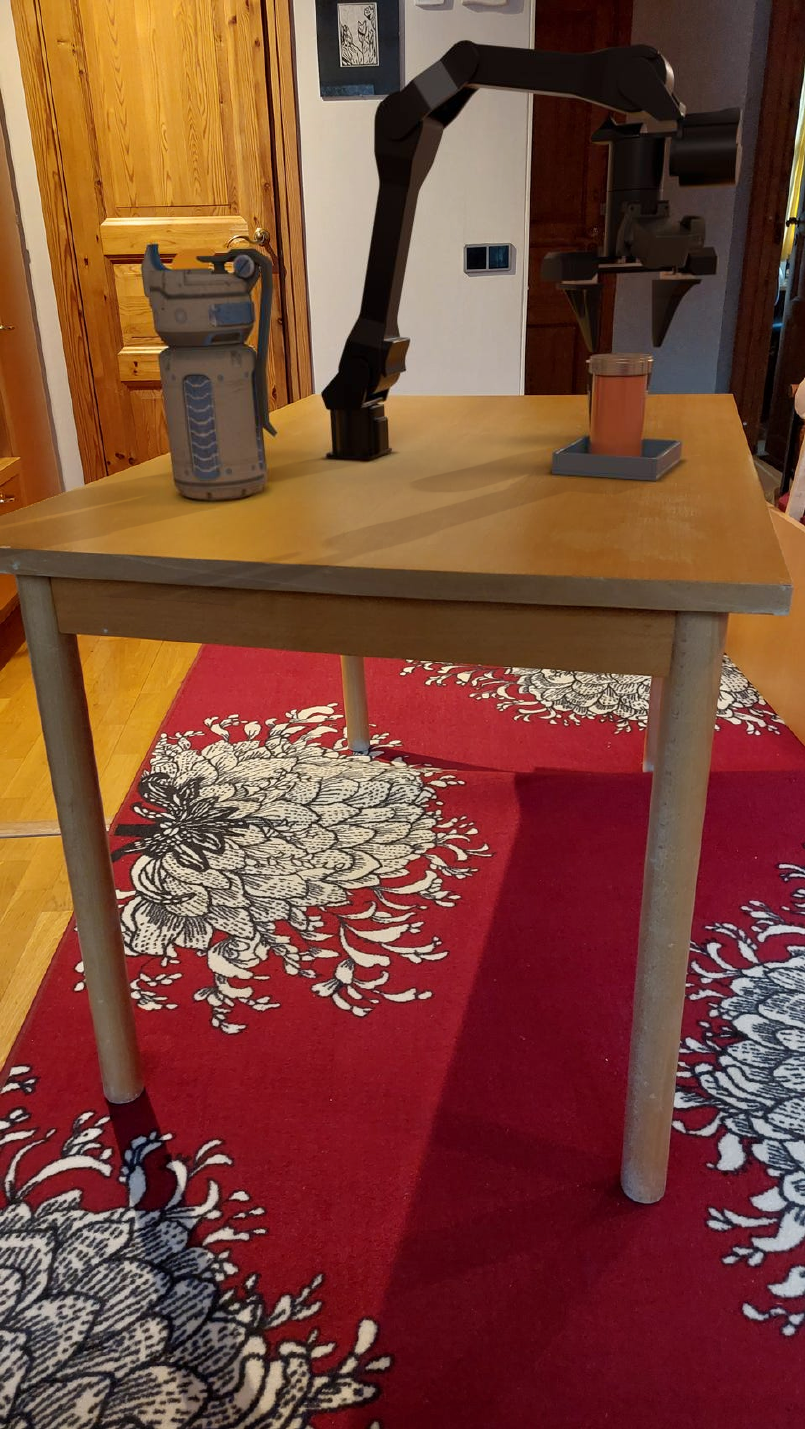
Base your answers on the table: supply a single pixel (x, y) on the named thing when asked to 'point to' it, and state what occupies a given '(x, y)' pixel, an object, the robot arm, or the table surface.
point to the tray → (617, 460)
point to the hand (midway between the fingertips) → (624, 349)
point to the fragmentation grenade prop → (213, 370)
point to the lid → (621, 364)
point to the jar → (618, 415)
